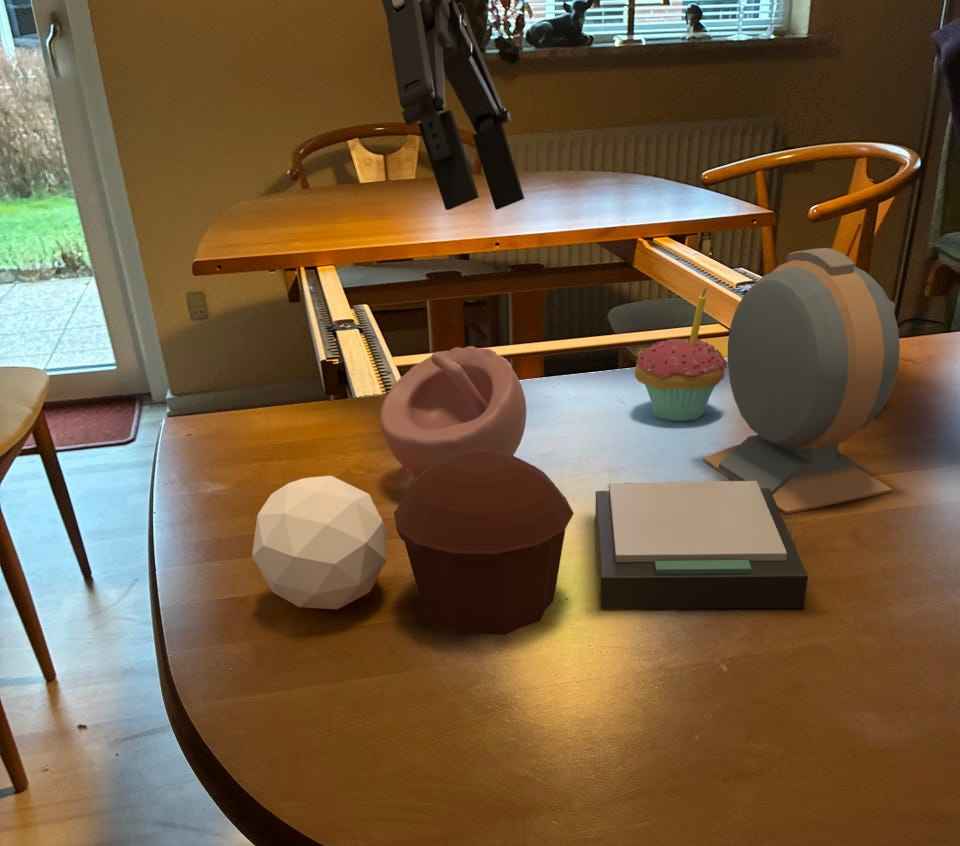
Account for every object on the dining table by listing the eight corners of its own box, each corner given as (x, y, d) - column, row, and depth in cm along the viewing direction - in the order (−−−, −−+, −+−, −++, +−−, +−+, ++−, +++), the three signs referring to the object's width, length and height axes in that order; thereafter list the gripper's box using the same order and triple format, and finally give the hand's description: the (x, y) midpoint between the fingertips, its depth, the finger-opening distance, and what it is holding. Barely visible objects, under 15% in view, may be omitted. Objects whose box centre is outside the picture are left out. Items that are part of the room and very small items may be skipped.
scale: (766, 516, 75) (770, 480, 73) (803, 608, 63) (809, 567, 61) (595, 519, 76) (595, 483, 74) (600, 609, 64) (601, 569, 63)
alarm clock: (900, 496, 77) (945, 258, 68) (793, 519, 74) (825, 275, 65) (792, 438, 88) (818, 229, 79) (697, 456, 86) (712, 242, 77)
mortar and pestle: (359, 492, 83) (342, 357, 77) (445, 447, 91) (436, 321, 85) (473, 522, 77) (464, 377, 71) (554, 470, 85) (553, 337, 79)
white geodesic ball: (425, 590, 64) (380, 538, 74) (364, 467, 59) (325, 430, 70) (306, 655, 63) (278, 594, 73) (235, 535, 58) (216, 488, 69)
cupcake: (735, 407, 96) (747, 279, 90) (700, 434, 91) (710, 300, 84) (656, 395, 101) (661, 273, 94) (617, 420, 95) (620, 292, 89)
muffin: (373, 593, 68) (356, 456, 62) (506, 548, 73) (501, 417, 67) (463, 669, 59) (453, 517, 54) (608, 612, 64) (611, 468, 59)
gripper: (418, -19, 90) (491, 218, 96) (289, -90, 68) (394, 221, 75) (491, -57, 87) (562, 189, 93) (381, -145, 65) (483, 184, 72)
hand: (488, 204), depth 84 cm, fingers open, 13 cm apart
